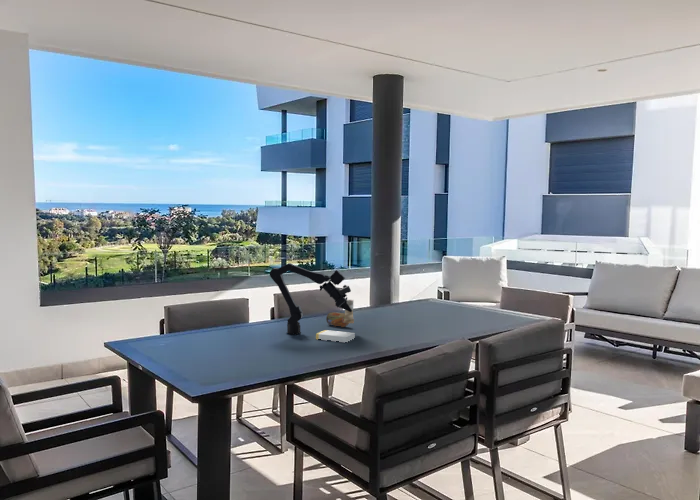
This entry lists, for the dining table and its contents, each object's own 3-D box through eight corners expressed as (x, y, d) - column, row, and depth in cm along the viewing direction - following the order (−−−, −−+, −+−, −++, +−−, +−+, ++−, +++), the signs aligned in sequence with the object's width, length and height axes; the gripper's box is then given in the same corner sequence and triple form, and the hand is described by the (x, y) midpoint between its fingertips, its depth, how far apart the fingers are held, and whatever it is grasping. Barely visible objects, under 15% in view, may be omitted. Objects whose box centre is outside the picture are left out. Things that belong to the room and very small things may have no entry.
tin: (326, 325, 327) (326, 311, 326) (328, 324, 330) (328, 310, 329) (347, 328, 320) (347, 314, 319) (350, 327, 323) (350, 313, 322)
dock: (316, 339, 289) (316, 333, 289) (324, 335, 299) (324, 329, 299) (346, 342, 282) (346, 337, 281) (354, 338, 292) (354, 333, 292)
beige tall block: (343, 323, 299) (344, 300, 298) (344, 321, 304) (344, 299, 303) (353, 323, 299) (354, 301, 298) (354, 321, 304) (354, 299, 303)
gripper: (341, 282, 291) (361, 303, 291) (343, 279, 309) (362, 298, 310) (327, 297, 291) (347, 317, 292) (329, 292, 310) (348, 311, 310)
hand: (351, 310), depth 301 cm, fingers closed on beige tall block, 4 cm apart
